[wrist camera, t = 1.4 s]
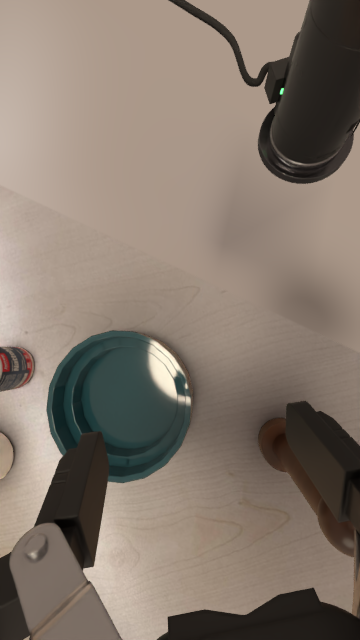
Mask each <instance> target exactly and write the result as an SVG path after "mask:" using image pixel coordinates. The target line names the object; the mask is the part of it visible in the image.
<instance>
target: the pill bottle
mask: <svg viewBox="0 0 360 640" xmlns="http://www.w3.org/2000/svg"><path fill="white" fill-rule="evenodd" d="M33 371H34V362H33V359H32V356H31V355H30V354H29V352H27V351H26V350H25V349H22V348H19V347H0V391H5V390H10V389H15V388H19V387H21V386H23V385H25V384H26V383H27V382H28V381H29V380H30V378H31V377H32V374H33Z"/></svg>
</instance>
